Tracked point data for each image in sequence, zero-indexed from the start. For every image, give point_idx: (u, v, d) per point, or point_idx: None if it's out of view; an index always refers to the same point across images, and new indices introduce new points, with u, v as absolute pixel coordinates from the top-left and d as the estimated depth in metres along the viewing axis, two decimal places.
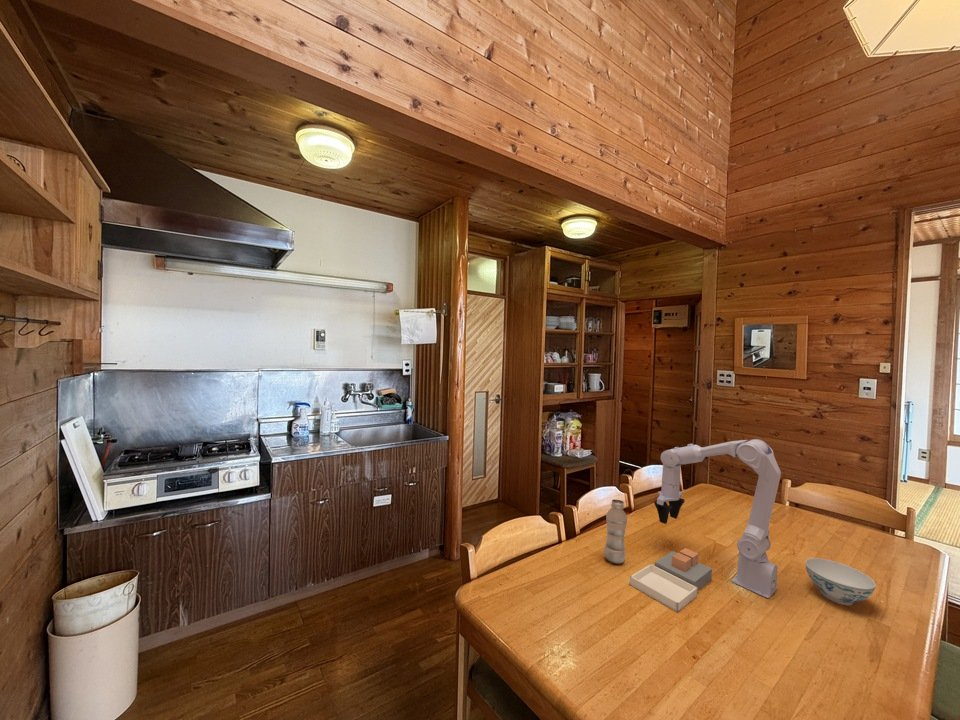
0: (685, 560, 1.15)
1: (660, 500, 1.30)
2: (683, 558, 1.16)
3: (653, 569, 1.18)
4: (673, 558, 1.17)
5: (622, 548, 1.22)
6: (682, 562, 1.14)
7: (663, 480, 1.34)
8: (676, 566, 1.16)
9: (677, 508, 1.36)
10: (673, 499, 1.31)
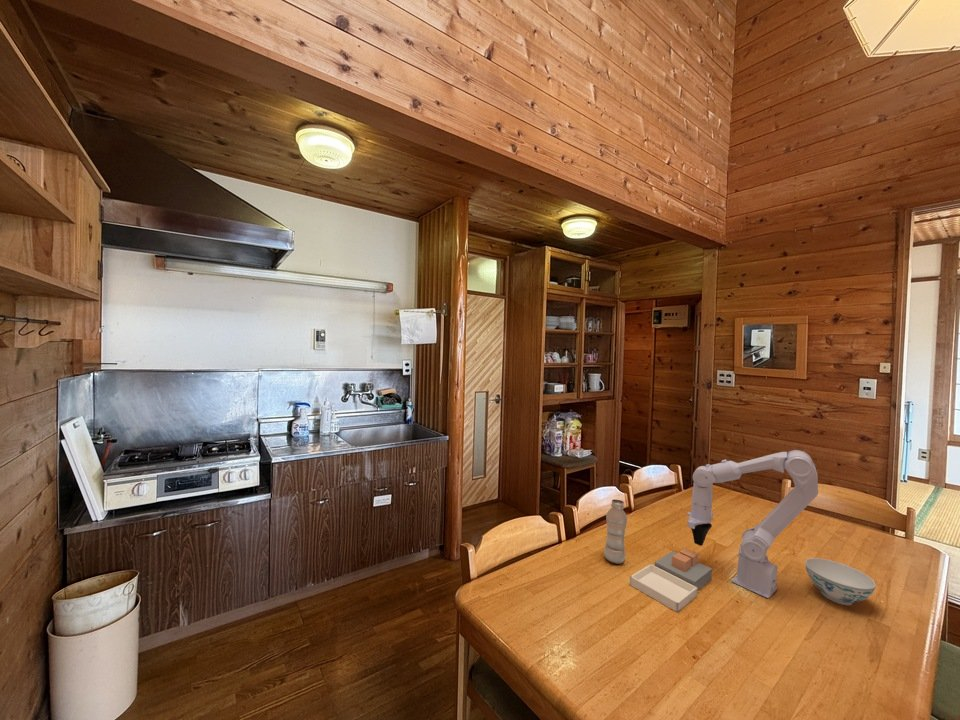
0: (685, 560, 1.15)
1: (691, 523, 1.19)
2: (683, 558, 1.16)
3: (653, 569, 1.18)
4: (673, 558, 1.17)
5: (622, 548, 1.22)
6: (682, 562, 1.14)
7: (695, 501, 1.22)
8: (676, 566, 1.16)
9: None
10: (705, 522, 1.20)
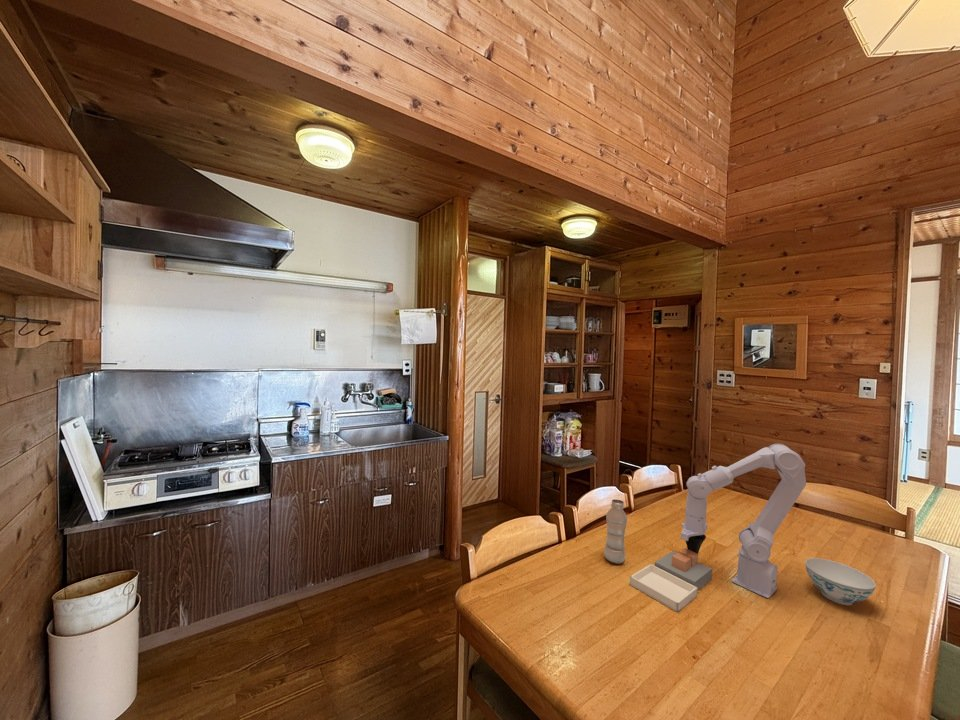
0: (685, 560, 1.15)
1: (685, 535, 1.17)
2: (683, 558, 1.16)
3: (653, 569, 1.18)
4: (673, 558, 1.17)
5: (622, 548, 1.22)
6: (682, 562, 1.14)
7: (691, 513, 1.20)
8: (676, 566, 1.16)
9: None
10: (699, 534, 1.18)
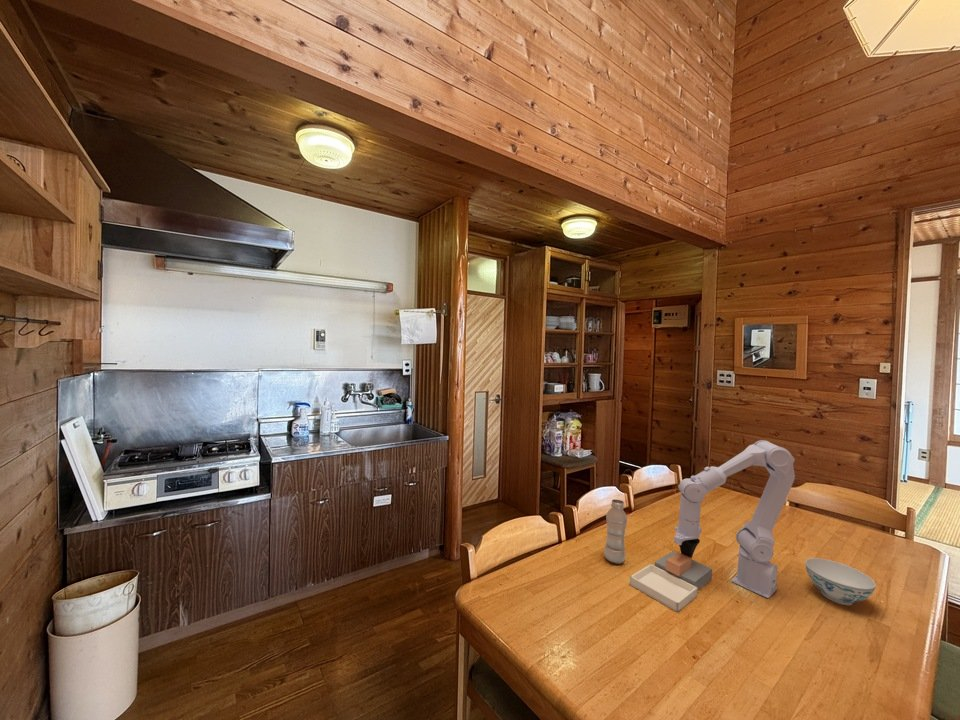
0: (679, 564, 1.13)
1: (678, 539, 1.14)
2: (677, 562, 1.14)
3: (653, 569, 1.18)
4: (667, 562, 1.14)
5: (622, 548, 1.22)
6: (676, 566, 1.12)
7: (686, 518, 1.16)
8: (670, 570, 1.14)
9: None
10: (692, 538, 1.15)
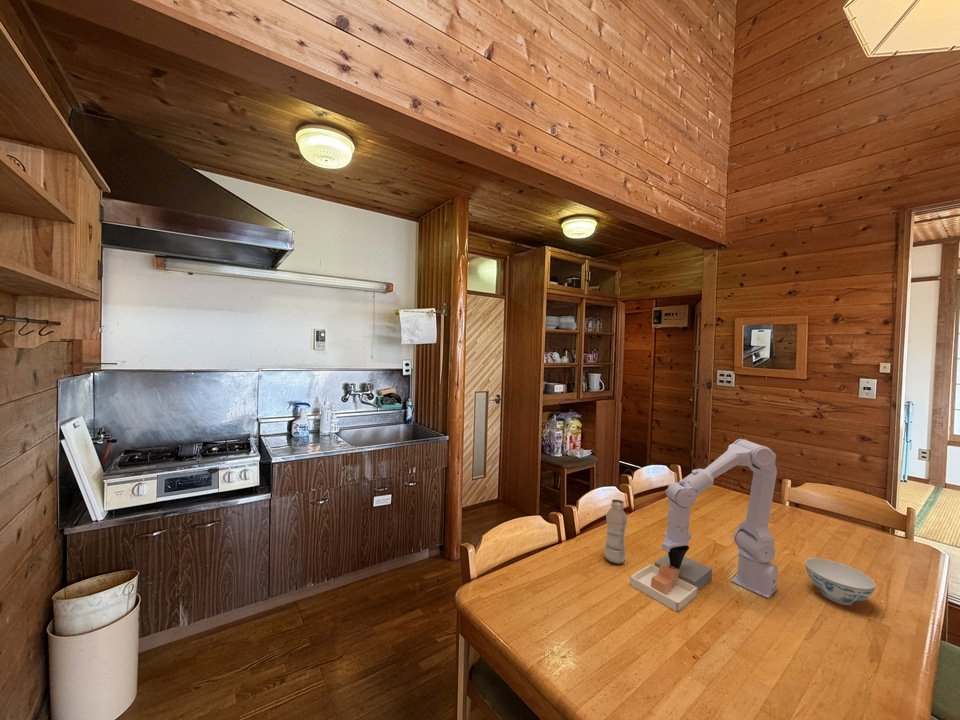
0: None
1: (666, 546, 1.09)
2: None
3: (653, 569, 1.18)
4: None
5: (622, 548, 1.22)
6: None
7: (677, 524, 1.11)
8: None
9: None
10: (681, 544, 1.11)
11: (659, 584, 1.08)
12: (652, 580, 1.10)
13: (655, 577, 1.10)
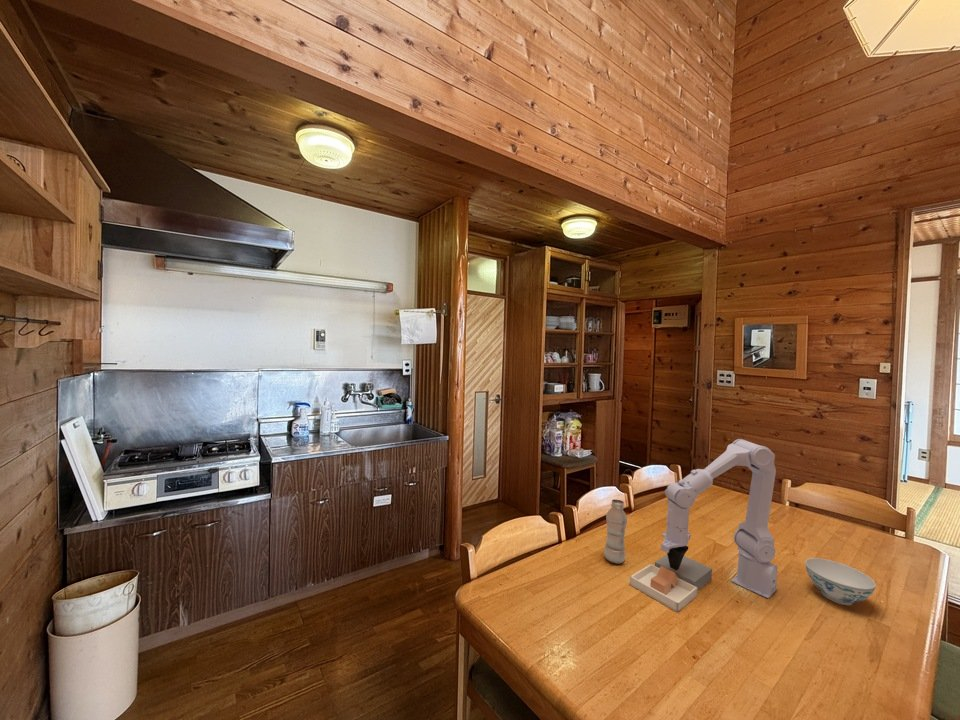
0: None
1: (665, 547, 1.09)
2: None
3: (653, 569, 1.18)
4: None
5: (622, 548, 1.22)
6: None
7: (676, 525, 1.11)
8: None
9: None
10: (680, 545, 1.10)
11: (659, 586, 1.08)
12: (651, 581, 1.09)
13: (654, 578, 1.10)
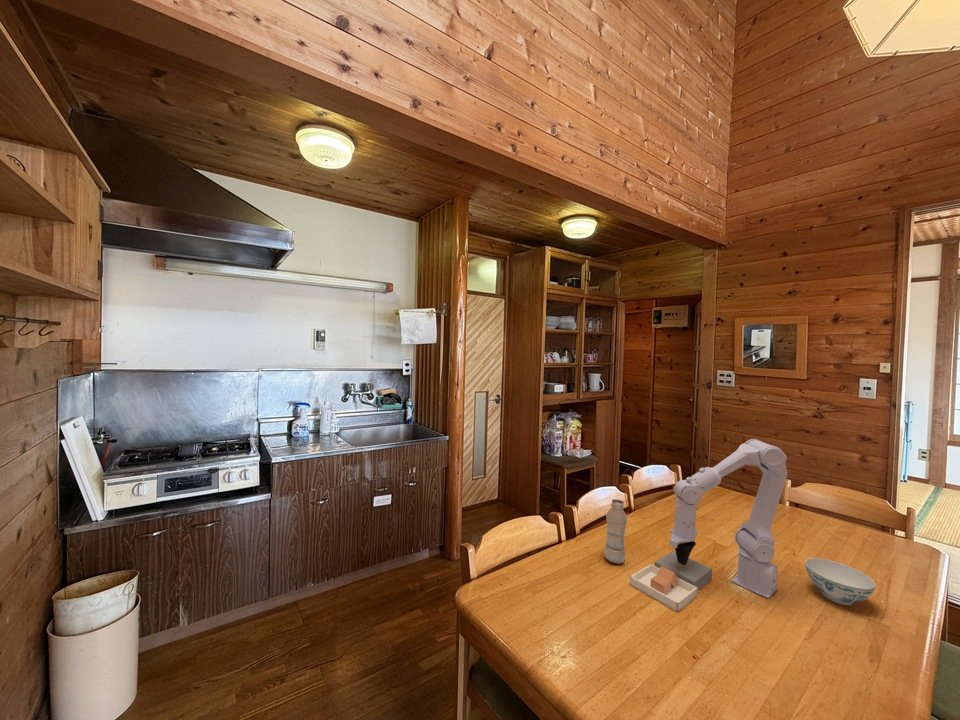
0: None
1: (673, 542, 1.12)
2: None
3: (653, 569, 1.18)
4: None
5: (622, 548, 1.22)
6: None
7: (683, 520, 1.14)
8: None
9: None
10: (688, 540, 1.13)
11: (659, 586, 1.08)
12: (651, 581, 1.09)
13: (654, 578, 1.10)
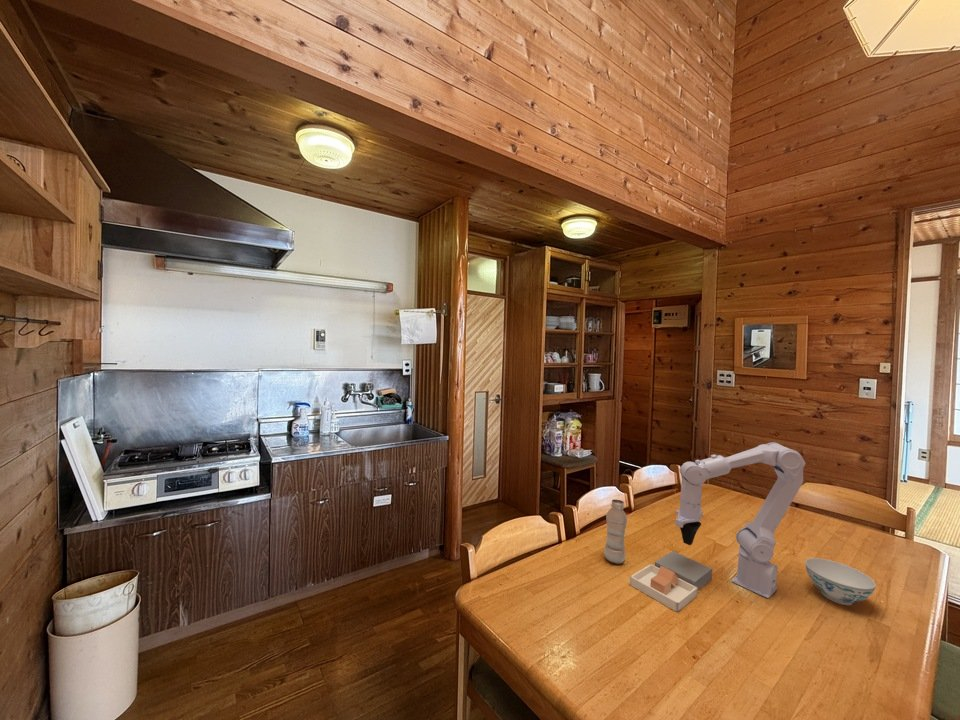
0: None
1: (679, 522, 1.14)
2: None
3: (653, 569, 1.18)
4: None
5: (622, 548, 1.22)
6: None
7: (687, 500, 1.16)
8: None
9: None
10: (694, 520, 1.15)
11: (659, 586, 1.08)
12: (651, 581, 1.09)
13: (654, 578, 1.10)
